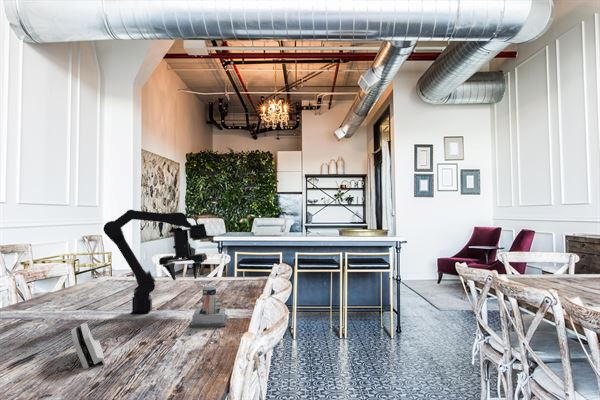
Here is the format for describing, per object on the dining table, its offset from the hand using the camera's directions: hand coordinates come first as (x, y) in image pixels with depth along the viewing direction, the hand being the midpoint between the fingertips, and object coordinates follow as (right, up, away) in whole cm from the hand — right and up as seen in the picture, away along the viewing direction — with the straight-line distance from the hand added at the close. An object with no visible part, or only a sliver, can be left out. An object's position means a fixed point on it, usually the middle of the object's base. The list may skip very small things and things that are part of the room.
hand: (185, 279), depth 157 cm
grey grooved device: (-10, -10, -54) cm, 56 cm away
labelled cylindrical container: (+15, -10, -21) cm, 28 cm away
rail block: (+15, -11, -22) cm, 29 cm away
